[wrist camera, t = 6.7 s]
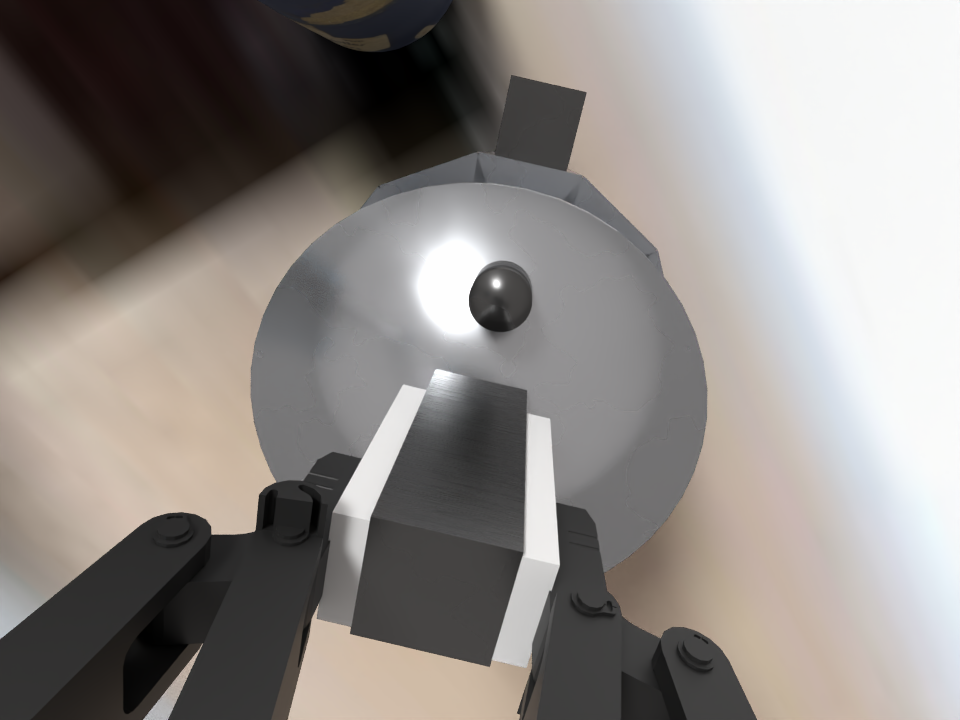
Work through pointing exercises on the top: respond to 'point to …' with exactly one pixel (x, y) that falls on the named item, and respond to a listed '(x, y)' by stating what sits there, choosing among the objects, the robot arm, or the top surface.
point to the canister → (365, 20)
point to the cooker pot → (530, 157)
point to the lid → (479, 392)
